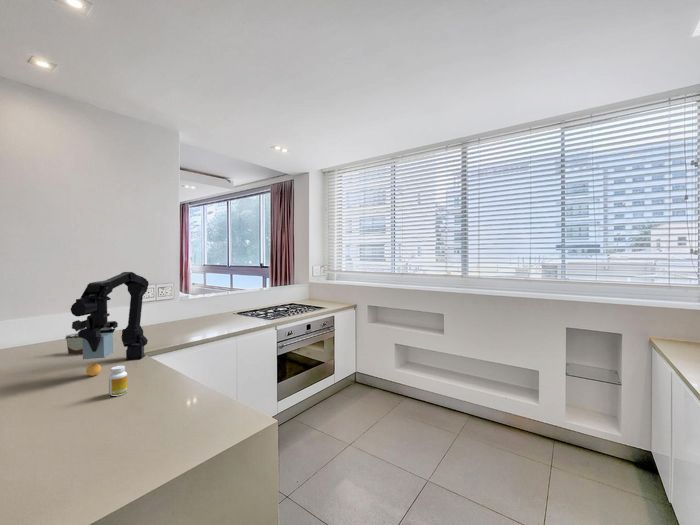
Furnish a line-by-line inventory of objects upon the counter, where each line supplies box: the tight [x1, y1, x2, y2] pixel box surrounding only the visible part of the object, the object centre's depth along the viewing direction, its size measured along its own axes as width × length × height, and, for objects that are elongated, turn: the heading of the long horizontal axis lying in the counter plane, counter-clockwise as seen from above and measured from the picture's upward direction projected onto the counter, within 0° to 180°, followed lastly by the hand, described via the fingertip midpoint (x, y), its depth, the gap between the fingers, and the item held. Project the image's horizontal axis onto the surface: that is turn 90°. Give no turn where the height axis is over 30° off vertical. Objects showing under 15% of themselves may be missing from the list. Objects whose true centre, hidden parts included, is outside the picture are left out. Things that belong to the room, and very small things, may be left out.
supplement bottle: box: [108, 365, 128, 396], centre depth 113 cm, size 5×5×10 cm
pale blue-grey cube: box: [82, 332, 114, 360], centre depth 132 cm, size 8×8×9 cm
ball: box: [85, 362, 102, 377], centre depth 132 cm, size 5×5×5 cm
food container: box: [65, 332, 83, 355], centre depth 165 cm, size 12×6×10 cm, turn 84°
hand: (99, 349), depth 133 cm, fingers closed on pale blue-grey cube, 7 cm apart
